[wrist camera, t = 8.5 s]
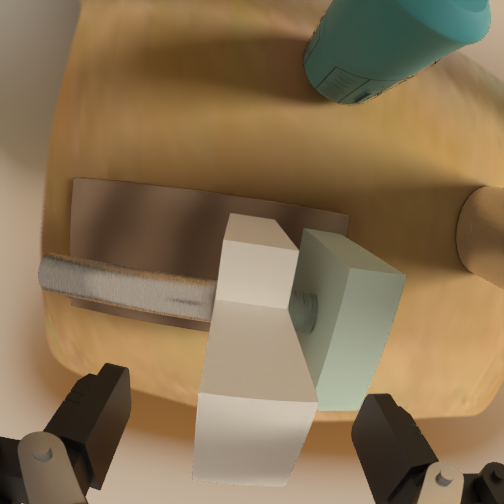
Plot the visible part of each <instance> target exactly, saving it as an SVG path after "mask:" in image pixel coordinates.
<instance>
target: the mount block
mask: <svg viewBox="0 0 504 504" xmlns="http://www.w3.org/2000/svg"><path fill="white" fill-rule="evenodd" d="M406 277H407V276H406V275H405V274H403V273H402V272H400V271H399V270H397V269H396V268H394V267H392V266H391V265H389V264H388V263H386V262H385V261H383V260H382V259H380V258H378V257H377V256H375V255H374V254H372V253H371V252H369V251H367V250H366V249H364V248H363V247H361V246H359V245H358V244H356V243H354V242H353V241H351V240H350V239H348V238H346V237H345V236H343V235H341V234H337V233H331V232H325V231H319V230H313V229H307V228H304V229H303V234H302V239H301V245H300V250H299V255H298V260H297V265H296V270H295V275H294V280H293V285H292V290H291V291H299V292H307V293H315V294H316V296H317V299H318V315H317V321H316V325H315V328H314V330H313V332H312V333H311V334H303V333H296V335H297V338H298V341H299V344H300V347H301V350H302V353H303V355H304V358H305V361H306V364H307V367H308V370H309V373H310V376H311V379H312V382H313V385H314V388H315V391H316V394H317V397H318V400H319V405H318V408H317V410H316V411H348V410H359V409H360V407H361V404H362V402H363V400H364V397H365V395H366V393H367V390H368V388H369V386H370V383H371V381H372V378H373V376H374V373H375V371H376V368H377V366H378V363H379V360H380V358H381V355H382V352H383V350H384V347H385V344H386V341H387V338H388V336H389V333H390V330H391V327H392V324H393V321H394V318H395V314H396V311H397V308H398V305H399V301H400V298H401V295H402V291H403V288H404V284H405V281H406Z"/></svg>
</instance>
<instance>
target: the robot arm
mask: <svg viewBox="0 0 504 504" xmlns="http://www.w3.org/2000/svg"><path fill="white" fill-rule="evenodd" d="M456 243H457V250H458V254H459V257H460V260H461V262H462V263H463V265H464V266H465V268H466V269H467V270H468V271H470V272H472V273H474V274H476V275H478V276H480V277H482V278H484V279H485V280H487V281H489V282H491V283H493V284H495V285H496V286H498V287H500V288H502V289H504V188H496V187H487V186H486V187H482V188H479V189H478V190H476V191H474V192H473V193H472V194H471V195H470V196H469V198H468V199H467V201H466V202H465V204H464V206H463V208H462V210H461V213H460V216H459V220H458V224H457V232H456ZM130 411H131V392H130V376H129V369H128V368H126V367H122V366H118V365H114V364H110V363H105V364H104V366H103V367H102V369H101V370H100V372H99V373H98V375H94V374H90V373H89V374H88V375H86V376H84V377H83V378H81V379H80V380H78V381H77V382H76V384H75V385H74V387H73V388H72V389H71V392H70V393H69V394H68V395H67V397H66V398H65V401H63V402H62V404H61V405H60V407H59V408H58V410H57V411H56V413H55V414H54V416H53V417H52V419H51V420H50V422H49V423H48V425H47V426H46V428H45V429H44V430H43V432H33V433H30V434H28V435H26V436H25V437H23V438H22V439H21V440H15V439H10V438H5V437H0V504H21V503H23V504H88V502H87V499H86V497H85V496H86V494H87V491H88V489H89V487H91V488H95V489H97V490H101V487H102V485H103V482H104V480H105V477H106V474H107V472H108V469H109V466H110V464H111V461H112V459H113V456H114V454H115V451H116V449H117V446H118V444H119V441H120V439H121V436H122V434H123V431H124V429H125V427H126V424H127V422H128V419H129V416H130ZM351 436H352V442H353V444H354V447H355V449H356V452H357V455H358V457H359V460H360V463H361V465H362V468H363V471H364V473H365V476H366V479H367V481H368V484H369V487H370V490H371V492H372V495H373V498H374V500H375V503H376V504H504V465H503V464H501V463H497V462H492V463H488V464H487V465H486V466H485V467H484V468H483V469H482V470H481V472H480V473H479V474H462V472H461V471H460V470H459V468H458V467H456V466H455V465H453V464H451V463H449V462H443V461H442V462H439V460H438V459H437V457H436V455H435V454H434V452H433V450H432V449H431V447H430V445H429V444H428V442H427V440H426V439H425V438H424V436H423V434H421V431H420V429H419V428H418V426H416V423H415V421H414V420H413V418H412V416H411V415H410V414H409V413H408V412H407V411H405V410H404V409H403V408H402V407H401V406H397V404H396V403H395V401H394V400H393V398H392V396H391V395H390V394H387V393H386V394H368V395H367V396H366V398H365V400H364V402H363V404H362V406H361V409H360V411H359V413H358V415H357V417H356V419H355V422H354V424H353V426H352V432H351Z"/></svg>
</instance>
